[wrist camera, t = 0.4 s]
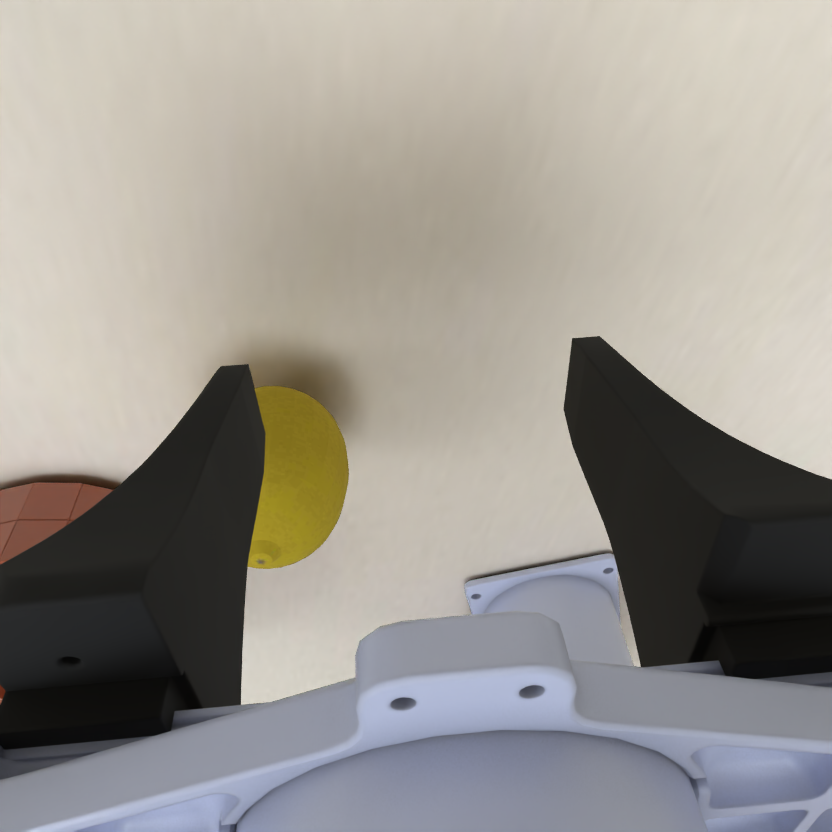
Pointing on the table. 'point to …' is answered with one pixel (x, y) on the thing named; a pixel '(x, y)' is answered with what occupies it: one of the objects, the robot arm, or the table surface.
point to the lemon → (297, 478)
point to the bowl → (40, 514)
